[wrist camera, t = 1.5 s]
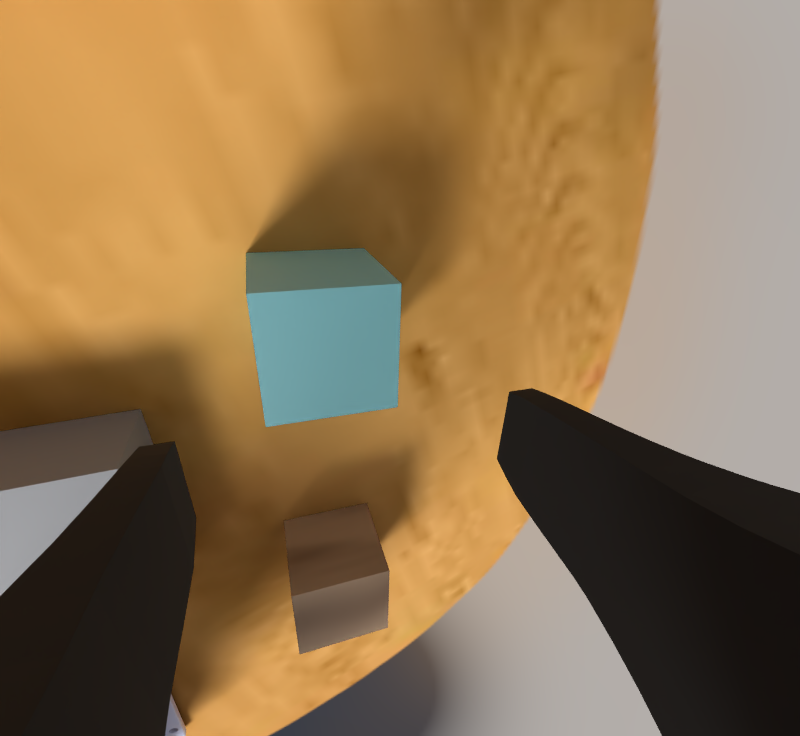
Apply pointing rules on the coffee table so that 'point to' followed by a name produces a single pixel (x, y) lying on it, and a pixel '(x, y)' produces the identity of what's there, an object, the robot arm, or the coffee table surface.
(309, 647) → the walnut block
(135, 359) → the coffee table surface
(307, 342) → the teal block
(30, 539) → the gray base block
